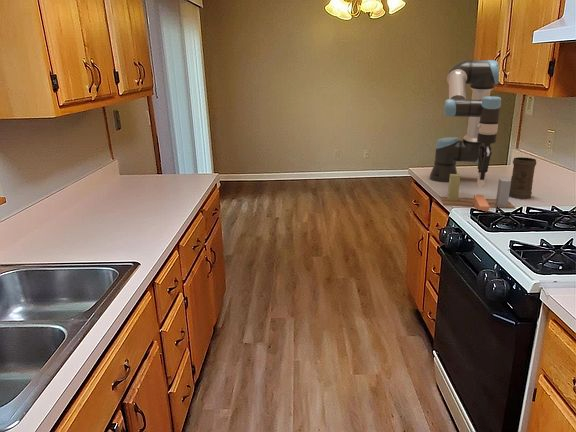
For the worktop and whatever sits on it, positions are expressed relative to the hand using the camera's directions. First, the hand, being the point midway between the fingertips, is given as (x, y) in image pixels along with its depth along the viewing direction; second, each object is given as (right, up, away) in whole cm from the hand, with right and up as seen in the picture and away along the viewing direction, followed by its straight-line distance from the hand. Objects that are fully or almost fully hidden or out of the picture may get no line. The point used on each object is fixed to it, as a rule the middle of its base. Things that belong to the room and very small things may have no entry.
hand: (480, 186), depth 205 cm
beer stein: (+26, -4, +19) cm, 33 cm away
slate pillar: (+10, -9, +1) cm, 13 cm away
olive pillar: (-9, -6, +11) cm, 15 cm away
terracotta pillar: (0, -6, +3) cm, 6 cm away
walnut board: (+1, -8, +7) cm, 11 cm away
